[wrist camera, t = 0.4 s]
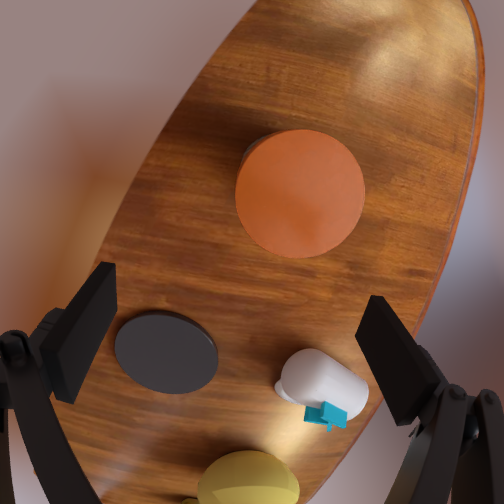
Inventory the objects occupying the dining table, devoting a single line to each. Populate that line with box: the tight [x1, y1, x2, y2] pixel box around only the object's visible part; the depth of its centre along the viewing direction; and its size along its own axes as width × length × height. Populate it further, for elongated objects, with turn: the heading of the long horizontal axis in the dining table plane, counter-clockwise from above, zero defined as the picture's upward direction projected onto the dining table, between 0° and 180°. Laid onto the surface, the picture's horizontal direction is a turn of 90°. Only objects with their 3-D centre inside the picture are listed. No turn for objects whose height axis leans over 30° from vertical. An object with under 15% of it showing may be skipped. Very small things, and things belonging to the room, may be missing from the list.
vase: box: [197, 450, 300, 504], centre depth 43 cm, size 18×18×19 cm
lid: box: [235, 129, 365, 258], centre depth 21 cm, size 9×9×2 cm
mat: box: [115, 311, 218, 394], centre depth 40 cm, size 14×14×1 cm
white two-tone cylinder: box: [274, 348, 369, 432], centre depth 40 cm, size 12×9×12 cm
